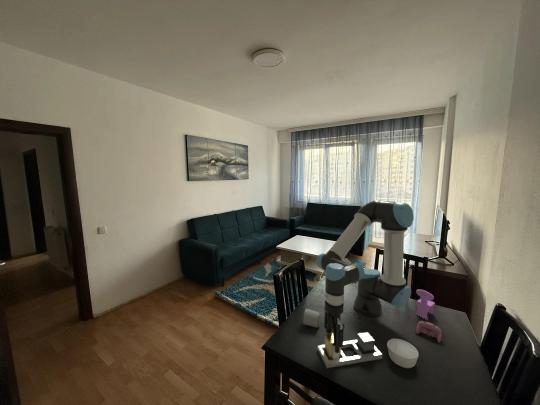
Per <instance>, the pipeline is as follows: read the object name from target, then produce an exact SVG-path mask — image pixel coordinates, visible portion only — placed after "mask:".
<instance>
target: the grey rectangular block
mask: <svg viewBox="0 0 540 405" xmlns="http://www.w3.org/2000/svg"><path fill="white" fill-rule="evenodd" d="M356 340H357V347H358V349H359V350H360V351H361V352H362V354H369V353H374V345H375V342H376V340H375V339H374V338H373V336H371V334H370V333H369V332H368V331H367V332H359V333H357V338H356ZM375 346H376V345H375Z"/></svg>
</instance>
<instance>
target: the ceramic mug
mask: <svg viewBox="0 0 540 405" xmlns="http://www.w3.org/2000/svg"><path fill="white" fill-rule="evenodd" d="M321 315H322V314H321V313H320V312H318V311H317V310H312V309H309V308H305V309H304V313H303V321H302V324H303V325H304V326H308V327H313V328H319V327H320V325H321V324H320V323H321V318H322V316H321Z"/></svg>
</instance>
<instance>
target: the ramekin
mask: <svg viewBox="0 0 540 405" xmlns="http://www.w3.org/2000/svg"><path fill="white" fill-rule="evenodd" d="M386 347H387V351H388V355H389V358H390V359H391V361H392V362H394V364H396V365H398V366H399V367H402V368H405V369H411V368H413V367H415V366H416V364H417V360H418V359H419V357H420V356H419V351H418V350H417V348H416V347H415V346H414V345H413V344H411V343H410V342H408V341H406V340H403V339H400V338H391V339H389V340H388V341H387V343H386Z"/></svg>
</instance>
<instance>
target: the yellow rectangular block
mask: <svg viewBox="0 0 540 405" xmlns="http://www.w3.org/2000/svg"><path fill="white" fill-rule="evenodd" d="M332 343H334V338H333V334H327V333H326V334H324V345H325V351H324V352H325V354H327V355H326V356H327V358H328V360H332V359H333V358H332V350H333V345H332ZM341 350H342V349H341V347H340V349H339V358H341Z"/></svg>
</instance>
